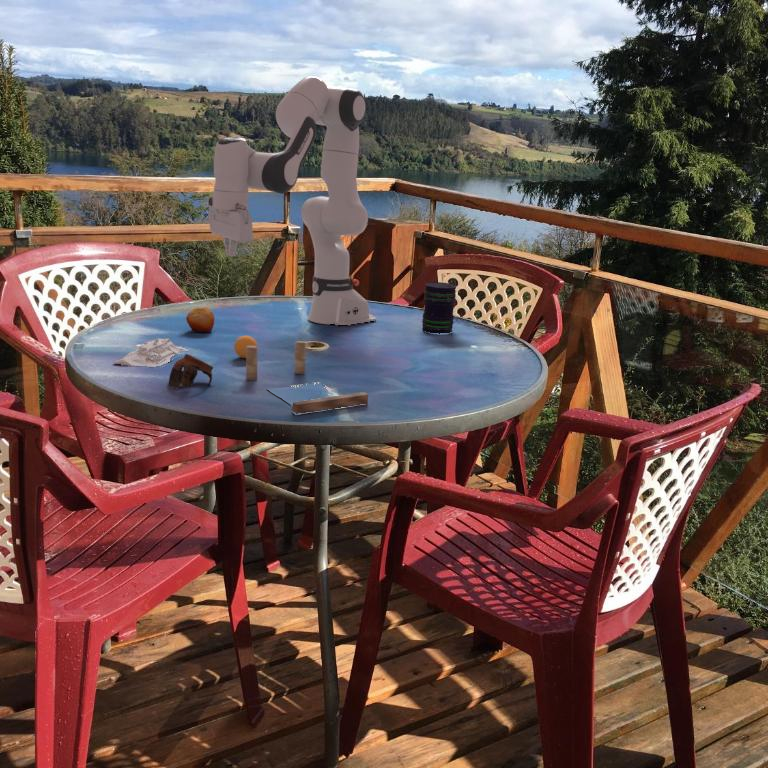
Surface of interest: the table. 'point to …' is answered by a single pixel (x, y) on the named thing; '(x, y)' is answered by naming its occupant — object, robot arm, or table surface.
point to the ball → (243, 345)
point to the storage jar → (438, 307)
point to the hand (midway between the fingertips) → (230, 255)
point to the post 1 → (251, 362)
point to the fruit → (200, 319)
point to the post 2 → (300, 357)
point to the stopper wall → (330, 402)
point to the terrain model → (151, 354)
